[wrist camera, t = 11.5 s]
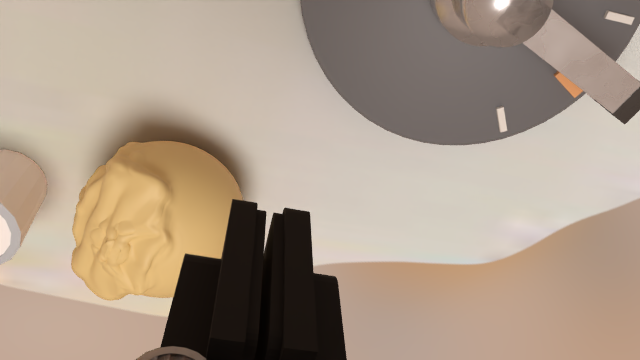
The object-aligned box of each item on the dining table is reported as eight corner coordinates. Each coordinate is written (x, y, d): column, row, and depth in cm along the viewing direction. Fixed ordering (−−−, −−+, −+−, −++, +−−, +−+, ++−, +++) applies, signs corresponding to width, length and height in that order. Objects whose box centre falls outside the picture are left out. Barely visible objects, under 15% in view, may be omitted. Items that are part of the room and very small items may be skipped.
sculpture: (124, 96, 43) (78, 165, 34) (269, 158, 46) (264, 236, 37) (80, 212, 48) (30, 299, 39) (215, 260, 51) (198, 352, 42)
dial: (407, -2, 38) (424, 20, 33) (478, -98, 35) (509, -89, 30) (562, 115, 43) (598, 150, 38) (636, 38, 40) (684, 65, 35)
